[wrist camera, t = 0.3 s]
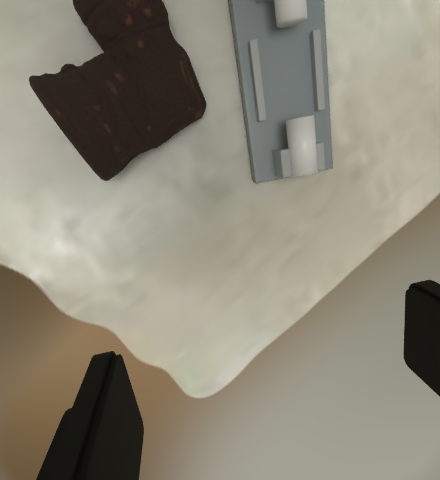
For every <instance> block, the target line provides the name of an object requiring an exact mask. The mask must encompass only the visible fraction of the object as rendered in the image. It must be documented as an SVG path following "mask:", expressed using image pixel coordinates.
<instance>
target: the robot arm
mask: <svg viewBox="0 0 440 480" xmlns="http://www.w3.org/2000/svg"><path fill="white" fill-rule="evenodd" d="M404 360H405V362H406V364H407V366H408V367H409V368H410V369H411V370H412V371H413V372H414V373H415V374H416V375H417V376H418V377H420V378H421V379H422V380H423V381H424V382H425V383H426V384H427V385H428V386H429V387H430V388H431V389H432V390H433V391H434V392H436V393H437V394H438V395H439V396H440V284H438V283H436V282H434V281H432V280H426V281H421V282H417V283H413V284H411V285H410V287H409V289H408V290H407V291H406V295H405V329H404ZM143 435H144V428H143V421H142V418H141V414H140V411H139V408H138V405H137V402H136V399H135V395H134V392H133V389H132V386H131V383H130V380H129V376H128V373H127V370H126V367H125V364H124V361H123V358H122V356H121V355H120V354H119V355H116V354H115V353H114V352H113V351H110V352H106V353H102V354H98V355H94V356H93V357H92V359H91V361H90V364H89V367H88V369H87V372H86V374H85V377H84V379H83V382H82V384H81V387H80V389H79V392H78V394H77V397H76V399H75V402H74V405H73V407H72V408H70V409H68V410H67V411H66V412H65V413H64V415H63V417H62V419H61V422H60V424H59V426H58V429H57V431H56V433H55V436H54V439H53V441H52V443H51V445H50V448H49V450H48V453H47V455H46V457H45V460H44V462H43V465H42V467H41V469H40V472H39V474H38V476H37V479H36V480H139V471H140V463H141V453H142V444H143Z"/></svg>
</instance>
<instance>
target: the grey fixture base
mask: <svg viewBox="0 0 440 480" xmlns="http://www.w3.org/2000/svg"><path fill="white" fill-rule="evenodd" d="M229 7H230V15H231V22H232V30H233V37H234V44H235V52H236V59H237V67H238V74H239V81H240V89H241V96H242V104H243V111H244V118H245V126H246V133H247V141H248V148H249V155H250V163H251V170H252V178H253V182H254V183H260V182H265V181H270V180H275V179H281V178H286V177H291V176H305V175H311V174H315V173H317V172H318V171H322V170H327V169H332V168H333V161H332V142H331V123H330V104H329V86H328V67H327V48H326V29H325V10H324V0H229Z"/></svg>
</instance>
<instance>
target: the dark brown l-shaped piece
mask: <svg viewBox="0 0 440 480" xmlns="http://www.w3.org/2000/svg"><path fill="white" fill-rule="evenodd" d="M73 5H74V7H75V10H76V11H77V13H78V14H79V16H80V18H81V20H82V22H83V23H84V24H85V25H86V26H87V27H88V30H89V32H90V34H91V35H92V36H93V37H94V38H95V40H96V41H97V42H98V44H99V45H100V46H101V48H102V49H103V51H104V53H102V54H100V55H98V56H96V57H94V58H93V59H91V60H90V61H87V62H85V63H84V64H83V65H82V66H79V67H76V66H75V65H73V64H65V65H64V66H63V67H62V68H61V71H60V72H59V73H56V74H46V73H45V74H43V75H41V76H31V77H30V78H29V82H30V85H31V87H32V89H33V91H34V92H35V94H36V95H37V97H38V98H39V100H40V101H41V103H42V104H43V105H44V107H45V108H46V110H47V111H48V113H49V114H50V115H51V117H52V118H53V119H54V121H55V122H56V123H57V125H58V126H59V127H60V129H61V130H62V131H63V133H64V134H65V135H66V137H67V138H68V139H69V140H70V142H71V143H72V144H73V146H74V147H75V148H76V149H77V151H78V152H79V153H80V155H81V156H82V157H83V158H84V160H85V161H86V162H87V163H88V165H89V166H90V167H91V168H92V170H93V171H94V172H95V173H96V174H97V175H98V176H99V177H100V178H101V179H103V180H105V181H108V180H110V179H111V178H112V177H114V176H115V175H117V174H118V173H119V172H120V171H121V170H123V169H124V168H125V166H126V165H127V164H128V163H129V162H130V161H131V160H132V159H133V158H135V157H136V156H137V155H139V154H141V153H143V152H145V151H148V150H150V149H153V148H156V147H158V146H160V145H161V144H163V143H164V142H166V141H167V140H168V139H170V138H171V137H172V136H173V135H175V134H176V133H177V132H179V131H180V130H182V129H183V128H185V127H186V126H188V125H190V124H191V123H193V122H195V121H196V120H198V119H200V118H202V116H203V114H204V111H205V108H206V101H205V99H204V96H203V94H202V91H201V89H200V86H199V84H198V81H197V79H196V76H195V73H194V71H193V68H192V65H191V62H190V60H189V57H188V55H187V53H186V51H185V50H184V49H183V48H182V47H181V46H180V45H179V44H178V43H177V42H176V41H175V39H174V38H173V35H172V33H171V31H170V27H169V20H168V13H167V10H166V8H165V6H164V4H163V2H162V0H73Z"/></svg>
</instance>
